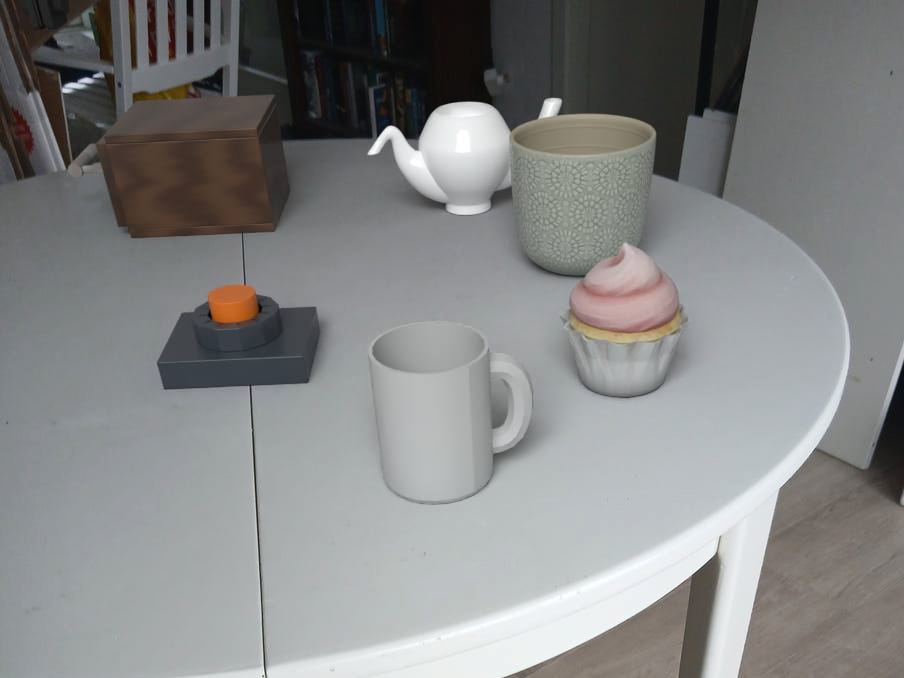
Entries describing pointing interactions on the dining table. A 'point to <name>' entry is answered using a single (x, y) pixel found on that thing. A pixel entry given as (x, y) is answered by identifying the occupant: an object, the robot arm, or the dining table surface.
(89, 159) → the drawer
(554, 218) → the planter
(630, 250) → the cupcake
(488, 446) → the cup
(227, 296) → the button
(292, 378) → the control block
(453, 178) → the teapot
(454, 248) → the dining table surface
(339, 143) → the dining table surface
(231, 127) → the cabinet
